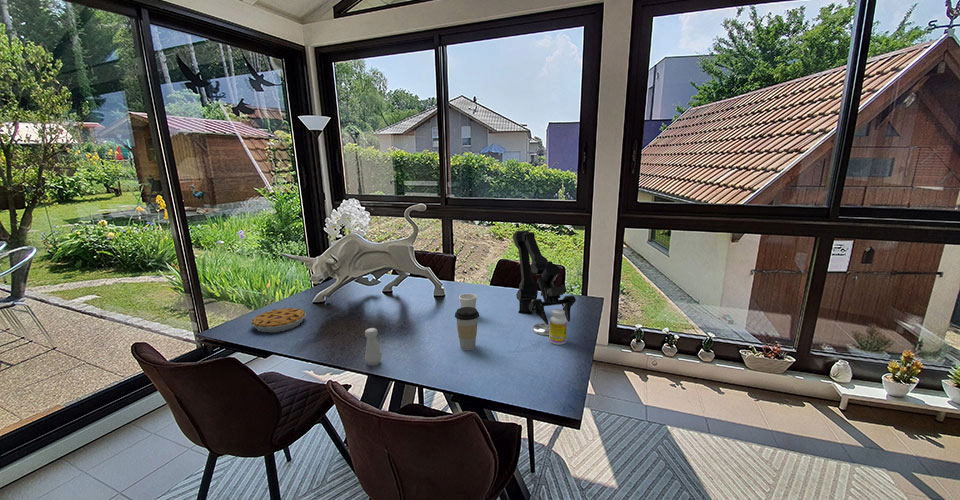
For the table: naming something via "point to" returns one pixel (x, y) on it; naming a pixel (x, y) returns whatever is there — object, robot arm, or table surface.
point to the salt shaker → (372, 347)
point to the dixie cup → (468, 300)
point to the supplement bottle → (558, 327)
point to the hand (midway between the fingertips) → (558, 322)
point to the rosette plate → (542, 329)
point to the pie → (278, 320)
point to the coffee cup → (467, 327)
